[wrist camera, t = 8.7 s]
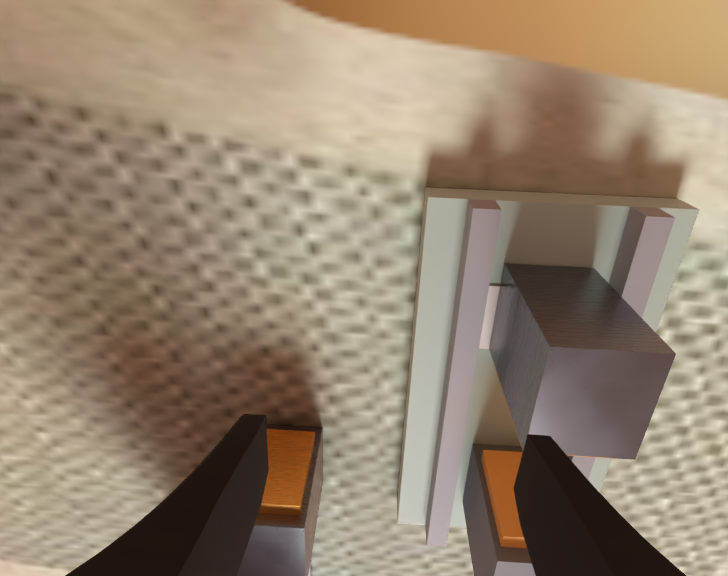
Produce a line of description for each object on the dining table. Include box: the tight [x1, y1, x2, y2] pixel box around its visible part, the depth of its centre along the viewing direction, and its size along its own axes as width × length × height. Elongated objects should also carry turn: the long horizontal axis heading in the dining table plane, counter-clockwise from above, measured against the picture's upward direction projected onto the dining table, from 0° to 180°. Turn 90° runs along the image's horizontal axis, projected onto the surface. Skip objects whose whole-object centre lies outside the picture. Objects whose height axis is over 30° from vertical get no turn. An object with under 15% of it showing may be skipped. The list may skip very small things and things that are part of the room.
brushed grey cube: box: [489, 263, 676, 459], centre depth 17 cm, size 5×4×6 cm
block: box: [237, 424, 323, 576], centre depth 23 cm, size 5×4×6 cm
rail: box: [397, 187, 699, 576], centre depth 20 cm, size 18×10×8 cm, turn 178°
